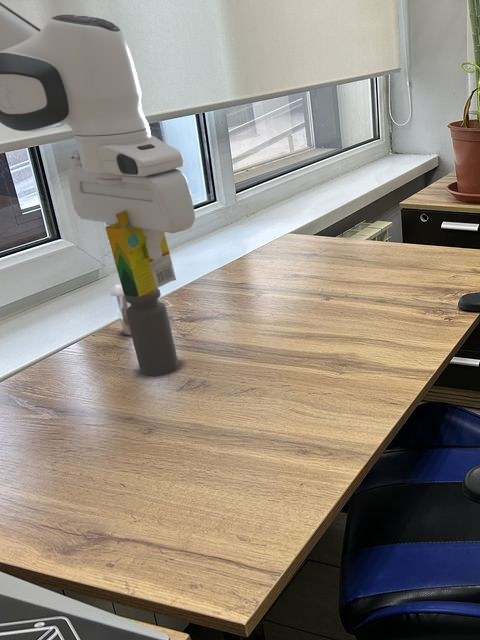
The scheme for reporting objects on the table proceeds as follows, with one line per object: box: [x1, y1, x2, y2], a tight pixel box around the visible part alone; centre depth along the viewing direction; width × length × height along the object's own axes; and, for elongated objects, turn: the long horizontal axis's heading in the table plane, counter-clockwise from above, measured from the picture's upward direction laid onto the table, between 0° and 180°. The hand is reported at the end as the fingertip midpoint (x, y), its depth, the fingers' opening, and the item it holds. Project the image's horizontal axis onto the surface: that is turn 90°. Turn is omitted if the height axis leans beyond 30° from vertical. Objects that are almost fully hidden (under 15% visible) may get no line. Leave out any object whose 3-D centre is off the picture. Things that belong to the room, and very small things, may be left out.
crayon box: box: [105, 211, 177, 297], centre depth 97 cm, size 7×3×12 cm, turn 159°
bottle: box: [125, 287, 179, 377], centre depth 112 cm, size 6×6×15 cm
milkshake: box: [109, 282, 132, 336], centre depth 127 cm, size 5×5×10 cm
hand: (143, 256), depth 97 cm, fingers closed on crayon box, 3 cm apart
